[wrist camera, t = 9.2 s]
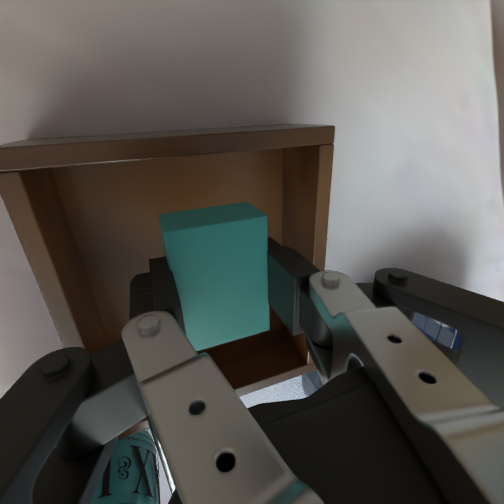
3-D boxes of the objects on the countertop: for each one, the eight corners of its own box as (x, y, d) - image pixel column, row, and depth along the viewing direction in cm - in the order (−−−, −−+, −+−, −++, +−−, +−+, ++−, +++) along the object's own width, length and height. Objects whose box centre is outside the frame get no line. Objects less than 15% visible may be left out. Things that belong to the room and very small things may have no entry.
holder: (24, 139, 13) (-20, 148, 10) (290, 123, 17) (336, 125, 14) (109, 381, 20) (104, 444, 16) (287, 329, 24) (317, 369, 20)
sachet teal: (157, 213, 11) (162, 231, 9) (247, 200, 12) (267, 214, 10) (178, 323, 13) (185, 355, 11) (253, 304, 14) (270, 330, 12)
